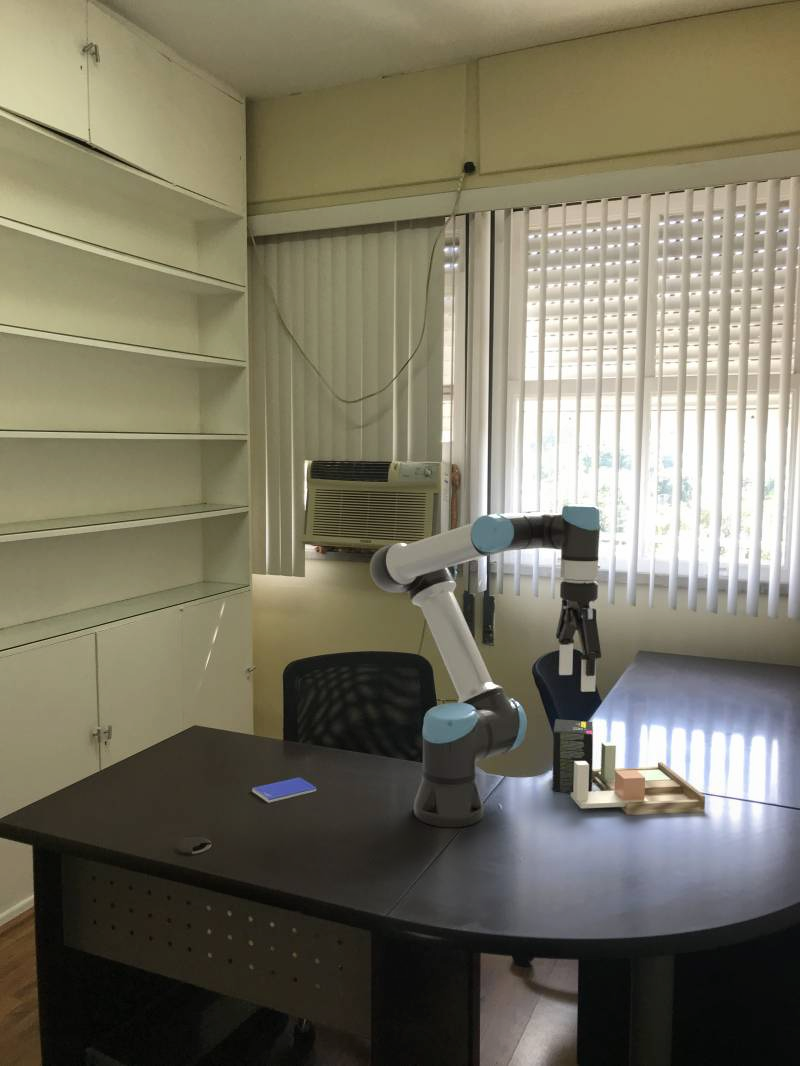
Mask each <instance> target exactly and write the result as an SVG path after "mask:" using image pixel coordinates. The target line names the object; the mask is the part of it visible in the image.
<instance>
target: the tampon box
mask: <svg viewBox="0 0 800 1066" xmlns="http://www.w3.org/2000/svg"><path fill="white" fill-rule="evenodd" d="M552 739H553V741H552V749H553V750H552V788H551V789H552V791H553V792H559V793H569V794H571V792H573V788H574V761H586V762H587V763H588V764H589V787H588V792H591V791H593V780H592V769H593V760H594V759H593V756H594V755H593V754H594V751H593V750H594V747H593V746H594V727H593V721H584V720H583V721H582V720H576V719H575V720H572V719H571V720H569V719H559V718H556V719H555V721H554V726H553V737H552Z"/></svg>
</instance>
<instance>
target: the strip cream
mask: <svg viewBox="0 0 800 1066" xmlns="http://www.w3.org/2000/svg"><path fill="white" fill-rule="evenodd" d="M588 787H589V764H588V763H587V762H586V761H574V788H573V792H571V793H570V797H571V799H572V800H573V801H574V802H575V803H576V805H577V806H578V807H579V808H580V809H595V808H597V809H599V808H600V809H601V808H620V807H624V806H626V803H630V802H649V801H648V800H647V799H646V798H644V800H622V799H621V798H620V797H619V796H618V795H617V794H616V793H615V792H614V791H603V790H598V791H597V790H596V791H595V790H594V791H593V790H592V791H591V792H588Z"/></svg>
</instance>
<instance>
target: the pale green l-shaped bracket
mask: <svg viewBox="0 0 800 1066" xmlns="http://www.w3.org/2000/svg"><path fill="white" fill-rule="evenodd" d="M600 749H601V750H600V751H601V755H600V769H601V772H598V776H599V777H600V778H601V779H602V780H603V781H604V782H605V783H613V782H615V768H616V759H617V758H616V755H617V753H616V752H617V751H616V750H617V745H616V744H615V743H614V742H612V741H611V742H610V741H609V742H606V741H605V742H601V748H600ZM637 771H638V772H639V773H640V774H641V775H643V776H644V777H645V781H662V780H671V779H670V778H669V777H668V776H666V775H665V774H664V773H663V772H661V771H660V770H637Z"/></svg>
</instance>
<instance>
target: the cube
mask: <svg viewBox="0 0 800 1066" xmlns="http://www.w3.org/2000/svg"><path fill="white" fill-rule="evenodd" d="M614 792H615V793H616V794H617V795H618V796H619V797H620V798H621V799H622V800H644V798H645V777H644V776H643V775H641V774H640V773H639V772H638V771H637V770H619V771H615V790H614Z"/></svg>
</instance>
